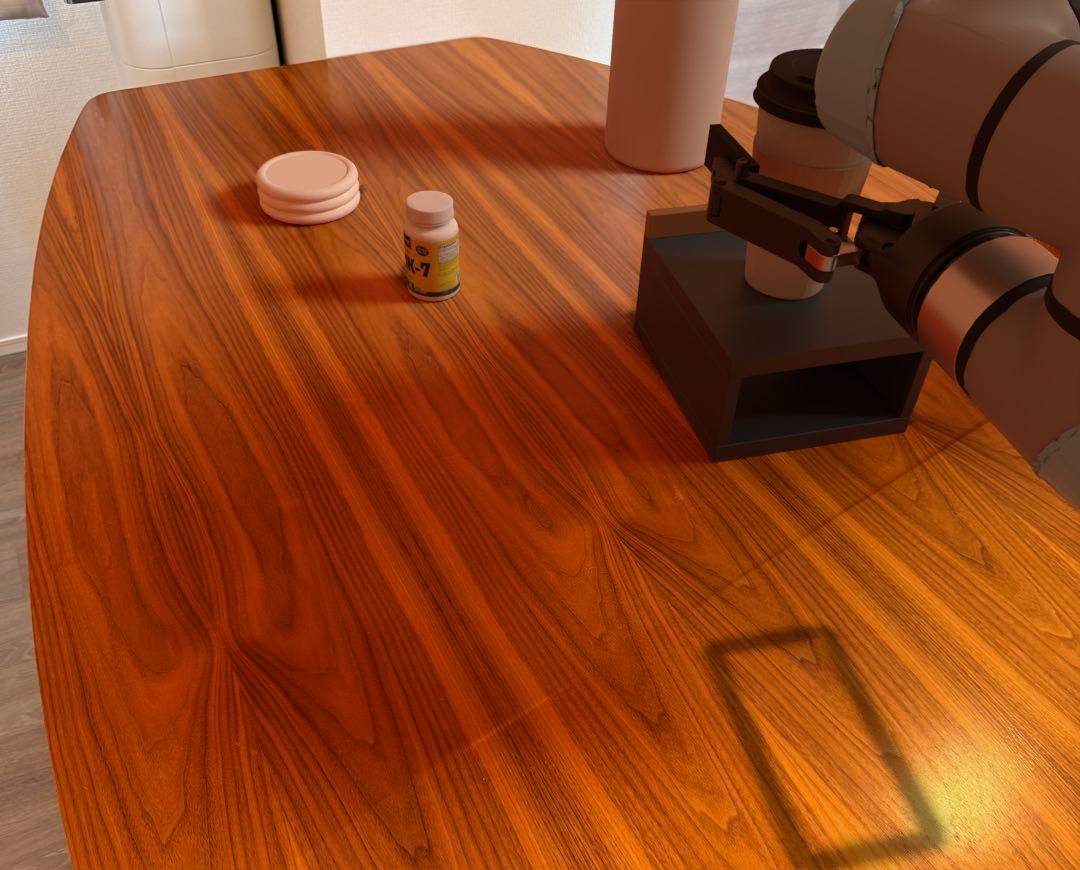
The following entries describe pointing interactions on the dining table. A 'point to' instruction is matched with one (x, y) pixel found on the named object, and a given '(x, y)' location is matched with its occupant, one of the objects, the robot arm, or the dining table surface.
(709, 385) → the dark brown hollow box
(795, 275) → the coffee cup
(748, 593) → the dining table surface
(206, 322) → the dining table surface
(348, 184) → the coaster
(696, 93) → the cylinder vase
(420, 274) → the supplement bottle
